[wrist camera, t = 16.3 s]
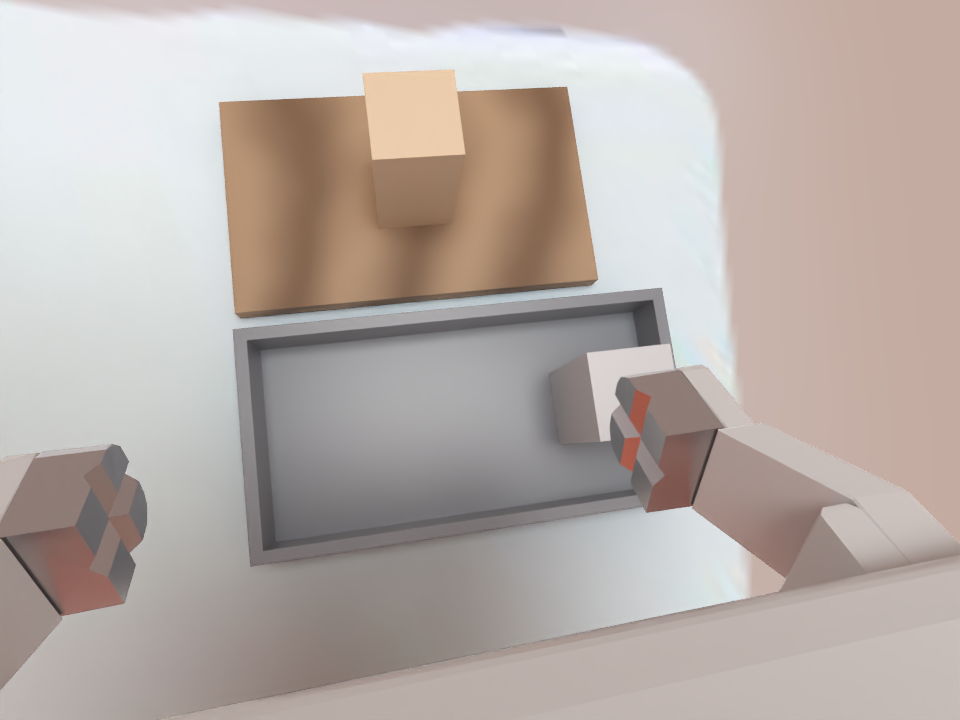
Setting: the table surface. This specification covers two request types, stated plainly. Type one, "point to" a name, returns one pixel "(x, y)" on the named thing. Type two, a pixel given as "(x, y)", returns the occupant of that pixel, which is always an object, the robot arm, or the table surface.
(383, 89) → the labelled box
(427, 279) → the pad
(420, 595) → the table surface
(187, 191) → the table surface
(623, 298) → the bin
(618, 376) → the plain box
